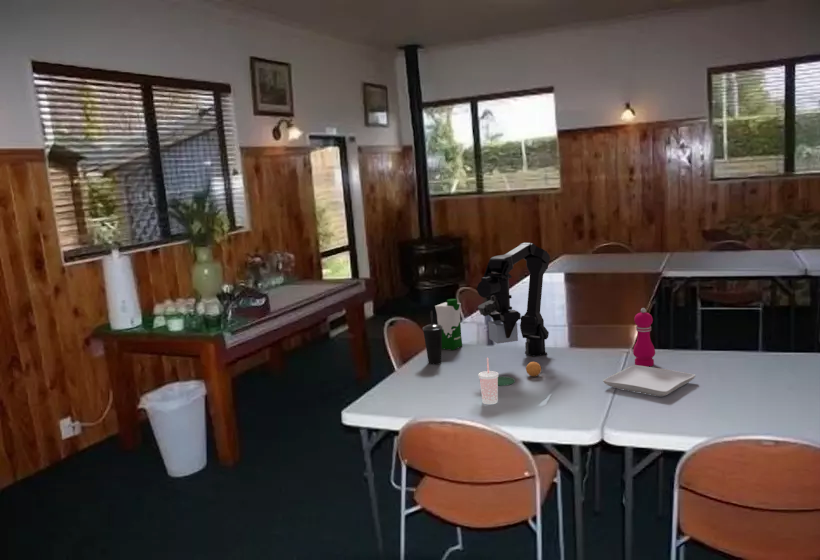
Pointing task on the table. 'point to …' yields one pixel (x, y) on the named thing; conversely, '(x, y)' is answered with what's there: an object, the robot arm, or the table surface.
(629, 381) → the salad plate
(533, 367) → the ball
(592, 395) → the table surface
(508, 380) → the disc
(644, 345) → the pepper mill
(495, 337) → the grey block
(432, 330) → the drinking cup
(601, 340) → the table surface
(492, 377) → the beverage cup
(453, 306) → the milk carton
